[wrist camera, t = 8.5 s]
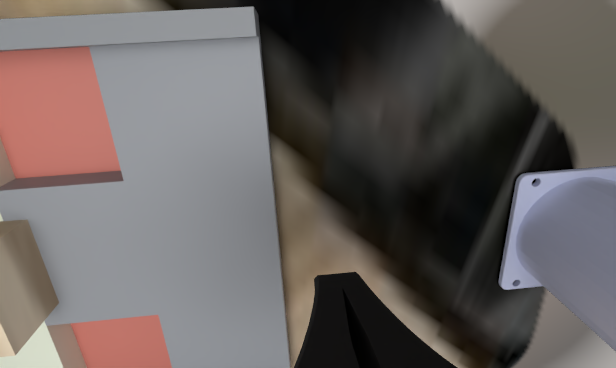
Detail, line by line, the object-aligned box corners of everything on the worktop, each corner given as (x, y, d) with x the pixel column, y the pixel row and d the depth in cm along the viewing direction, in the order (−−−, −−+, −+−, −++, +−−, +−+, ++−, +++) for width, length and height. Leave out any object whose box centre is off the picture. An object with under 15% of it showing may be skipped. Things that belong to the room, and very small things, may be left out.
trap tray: (258, 14, 17) (251, 3, 12) (290, 364, 25) (294, 437, 20) (-169, 36, 16) (-355, 33, 11) (11, 395, 24) (-52, 480, 19)
